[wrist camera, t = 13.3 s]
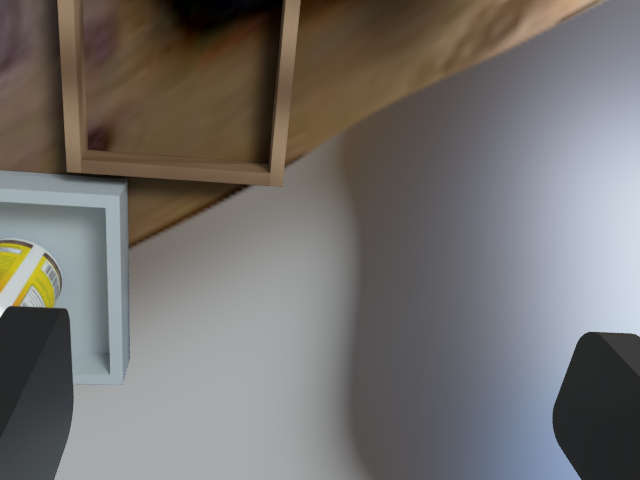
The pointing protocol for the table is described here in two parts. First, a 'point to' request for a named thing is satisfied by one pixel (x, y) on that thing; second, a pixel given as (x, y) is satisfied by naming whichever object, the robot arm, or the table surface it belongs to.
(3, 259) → the supplement bottle
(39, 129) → the table surface
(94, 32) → the table surface
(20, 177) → the bin
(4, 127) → the table surface
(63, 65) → the corral
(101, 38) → the table surface
